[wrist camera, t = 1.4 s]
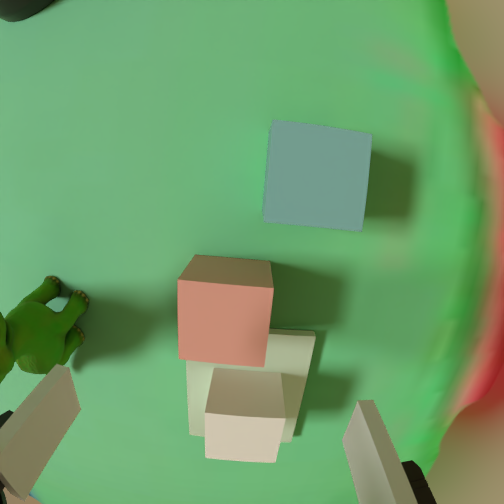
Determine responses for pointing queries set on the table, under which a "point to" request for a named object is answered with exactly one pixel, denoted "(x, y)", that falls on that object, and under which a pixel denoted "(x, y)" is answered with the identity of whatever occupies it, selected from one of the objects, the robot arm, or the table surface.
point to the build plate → (276, 360)
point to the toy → (40, 331)
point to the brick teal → (316, 176)
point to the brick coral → (225, 310)
